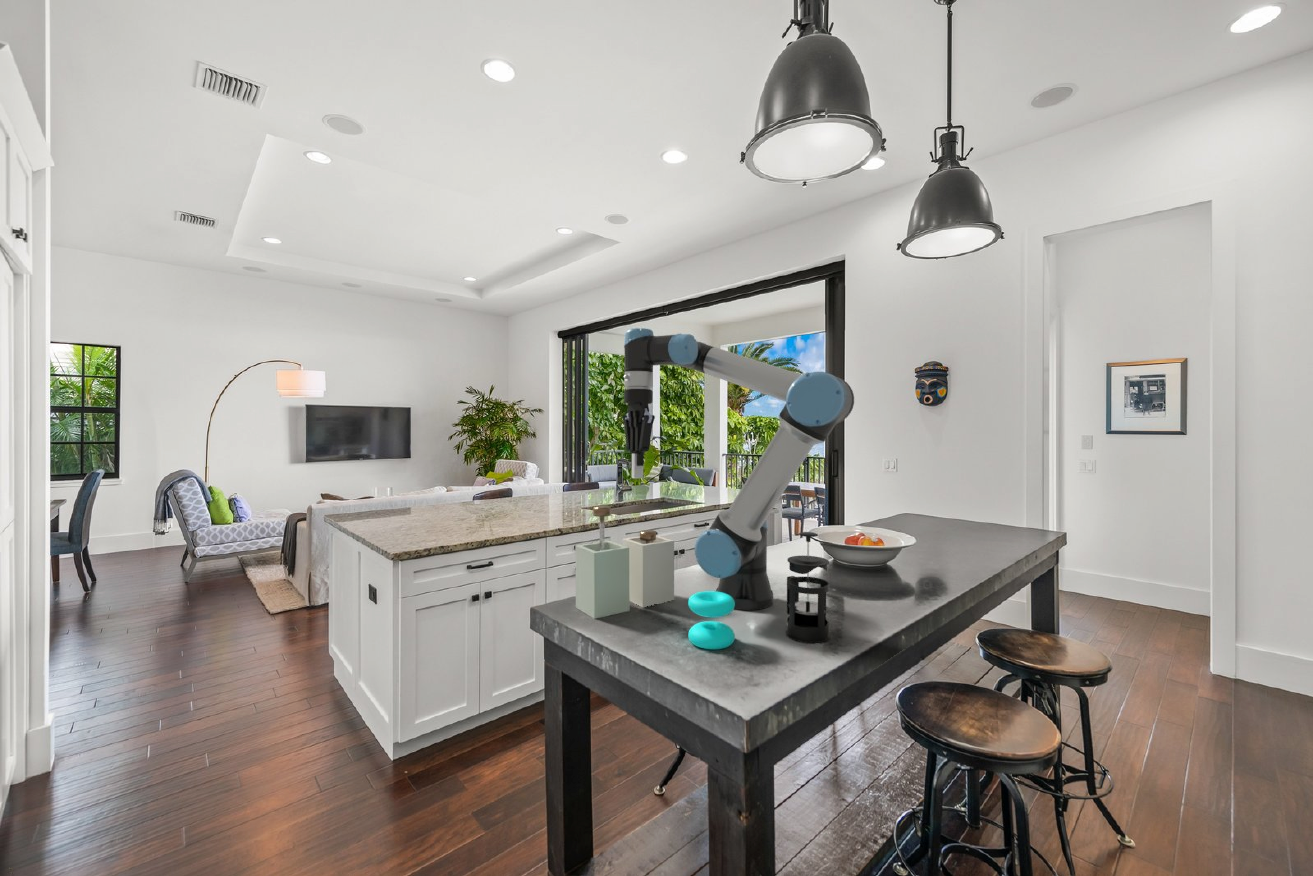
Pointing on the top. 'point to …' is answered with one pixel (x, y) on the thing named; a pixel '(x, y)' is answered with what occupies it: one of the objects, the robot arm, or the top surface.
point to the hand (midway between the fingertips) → (637, 477)
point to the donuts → (711, 631)
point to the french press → (806, 615)
